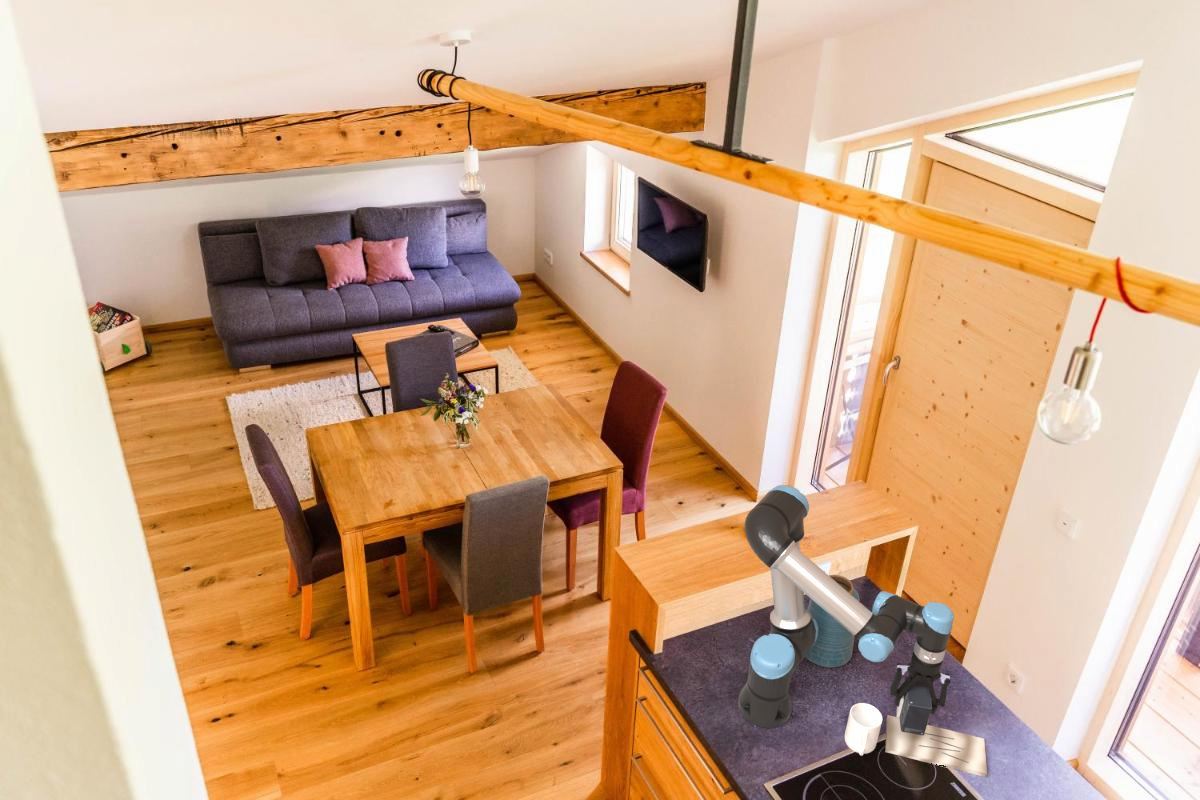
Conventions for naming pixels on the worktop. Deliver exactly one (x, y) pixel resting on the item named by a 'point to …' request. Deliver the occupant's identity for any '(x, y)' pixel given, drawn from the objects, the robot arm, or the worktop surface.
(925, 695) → the small box
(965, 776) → the worktop surface
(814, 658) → the vase
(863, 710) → the mug
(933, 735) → the board
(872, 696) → the worktop surface
